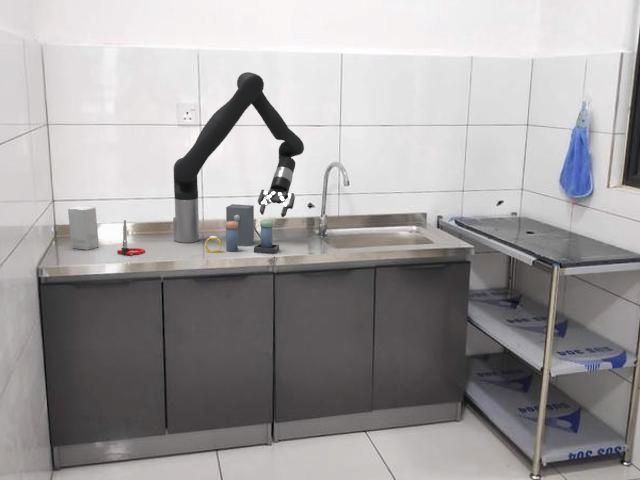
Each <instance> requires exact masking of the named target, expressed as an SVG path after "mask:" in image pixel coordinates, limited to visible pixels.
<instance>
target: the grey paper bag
mask: <svg viewBox="0 0 640 480" xmlns="http://www.w3.org/2000/svg"><path fill="white" fill-rule="evenodd" d="M67 214H68V223H69V224H68V225H69V233H70V242H71V249H77V250H78V249H79V250H86V251H89V250H93V249H96V248H98V247H100V243H99V232H98V231H99V230H98V222H97V209H96V207H95V206H83V205H78V206H75V207H71V208H69V207H68V208H67Z"/></svg>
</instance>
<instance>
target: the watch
mask: <svg viewBox="0 0 640 480" xmlns="http://www.w3.org/2000/svg"><path fill="white" fill-rule="evenodd" d="M209 240H216V241H218V242H219V248H218V249H217V250H210V249H209V248H208V246H207V245H208V244H207V243H208V241H209ZM204 243H205V245H204V246H205V247H204V248H205V250H206V251H207V252H208V253H218V252H220V250H221V248H222V242H221V240H220V239H219V238H218V236H216V235H211V236H209V237H208V238H207V239H206V240H205V242H204Z"/></svg>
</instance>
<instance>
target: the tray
mask: <svg viewBox="0 0 640 480" xmlns="http://www.w3.org/2000/svg"><path fill="white" fill-rule="evenodd" d="M278 250H279V251H280V244H273V243H272V248H261V243H258V244H257V245H255V246H254V247H253V253H254V254H255V253H256V254H268V255H275V254H276V253H277V252H278Z"/></svg>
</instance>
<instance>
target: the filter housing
mask: <svg viewBox="0 0 640 480" xmlns="http://www.w3.org/2000/svg"><path fill="white" fill-rule="evenodd" d="M254 207H255V205H254V204H253V205H251V204H250V205H249V204H236V203H235V204H233V203H232V204H230V205H228V206H226V207H225V210H226V212H225V215H226V216H225V217H226V221H225V222H227V221H237V222H238V246H245V247H249V246H250V245H252V244H254V243H255V237H254V236H255V235H254V233H255V232H254V231H255V226H254V225H255V223H254V222H255V220H254V219H255V215H254V214H255V212H254V211H255V208H254Z"/></svg>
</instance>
